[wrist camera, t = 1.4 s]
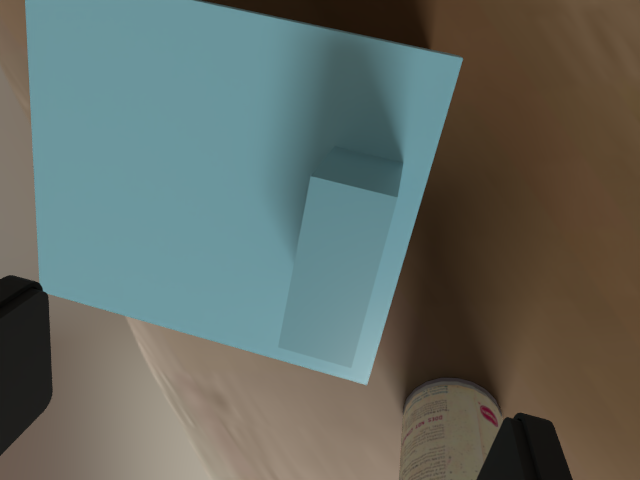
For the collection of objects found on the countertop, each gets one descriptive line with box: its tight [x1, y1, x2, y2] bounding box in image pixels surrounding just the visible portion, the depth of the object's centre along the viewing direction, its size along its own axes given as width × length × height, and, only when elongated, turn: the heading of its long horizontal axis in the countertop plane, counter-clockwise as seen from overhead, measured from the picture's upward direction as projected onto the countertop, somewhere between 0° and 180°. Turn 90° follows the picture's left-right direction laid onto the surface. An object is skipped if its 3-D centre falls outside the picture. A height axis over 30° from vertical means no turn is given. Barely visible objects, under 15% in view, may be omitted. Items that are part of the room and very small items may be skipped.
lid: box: [25, 0, 463, 385], centre depth 18 cm, size 15×13×6 cm
